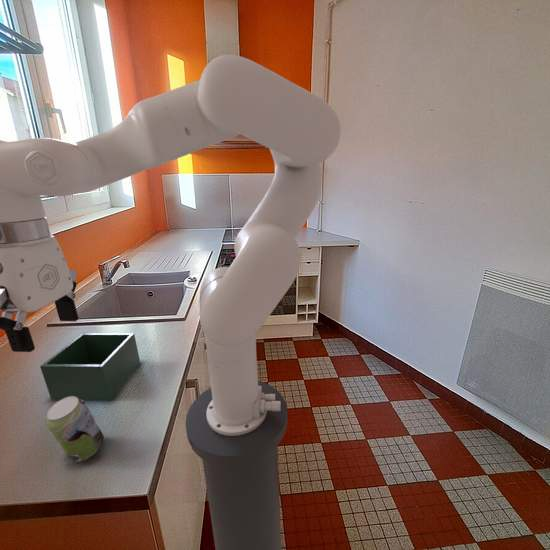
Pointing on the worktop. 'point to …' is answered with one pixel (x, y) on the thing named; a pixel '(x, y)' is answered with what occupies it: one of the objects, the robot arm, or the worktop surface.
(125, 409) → the worktop surface
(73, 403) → the beverage can
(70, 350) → the waste bin
